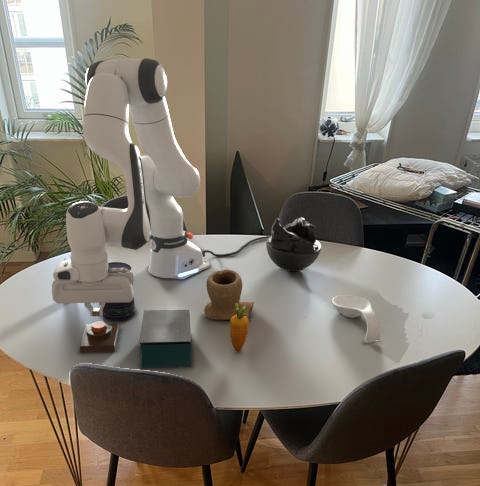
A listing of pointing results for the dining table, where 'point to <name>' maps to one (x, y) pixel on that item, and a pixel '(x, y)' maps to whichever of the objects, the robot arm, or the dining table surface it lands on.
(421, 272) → the dining table surface
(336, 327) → the dining table surface
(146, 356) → the tea tin
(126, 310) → the oil barrel
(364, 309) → the spoon rest
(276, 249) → the coal bowl
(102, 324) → the button
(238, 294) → the stone cup
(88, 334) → the button block
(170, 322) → the lid
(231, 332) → the carrot
